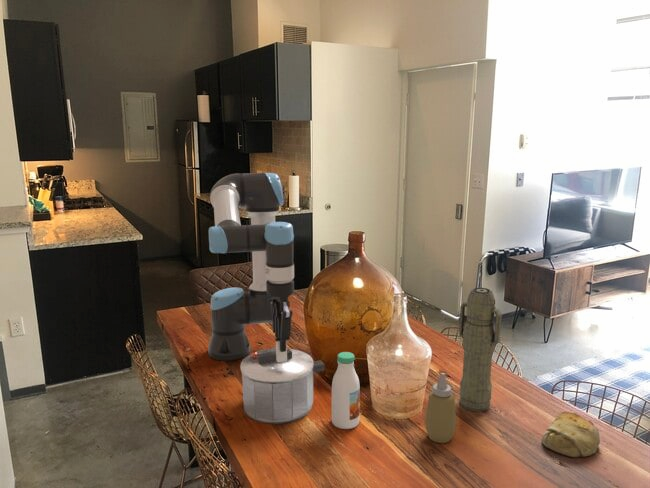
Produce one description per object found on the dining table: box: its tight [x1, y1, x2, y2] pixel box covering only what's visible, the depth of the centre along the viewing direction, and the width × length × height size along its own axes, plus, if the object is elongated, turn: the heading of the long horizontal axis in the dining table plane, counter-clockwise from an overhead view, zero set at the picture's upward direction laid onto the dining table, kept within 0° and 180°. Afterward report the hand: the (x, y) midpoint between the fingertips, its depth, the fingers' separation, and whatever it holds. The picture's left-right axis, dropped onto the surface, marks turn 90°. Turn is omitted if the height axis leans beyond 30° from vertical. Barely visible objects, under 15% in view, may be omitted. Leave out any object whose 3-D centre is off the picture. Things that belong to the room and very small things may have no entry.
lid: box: [240, 347, 314, 384], centre depth 149 cm, size 22×21×3 cm
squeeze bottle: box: [424, 372, 457, 444], centre depth 134 cm, size 8×8×18 cm
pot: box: [241, 360, 326, 425], centre depth 152 cm, size 24×20×12 cm
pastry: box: [541, 411, 601, 458], centre depth 132 cm, size 14×12×8 cm
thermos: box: [458, 287, 503, 412], centre depth 149 cm, size 9×12×35 cm
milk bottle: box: [331, 351, 361, 430], centre depth 141 cm, size 8×8×20 cm
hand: (281, 360), depth 145 cm, fingers closed
